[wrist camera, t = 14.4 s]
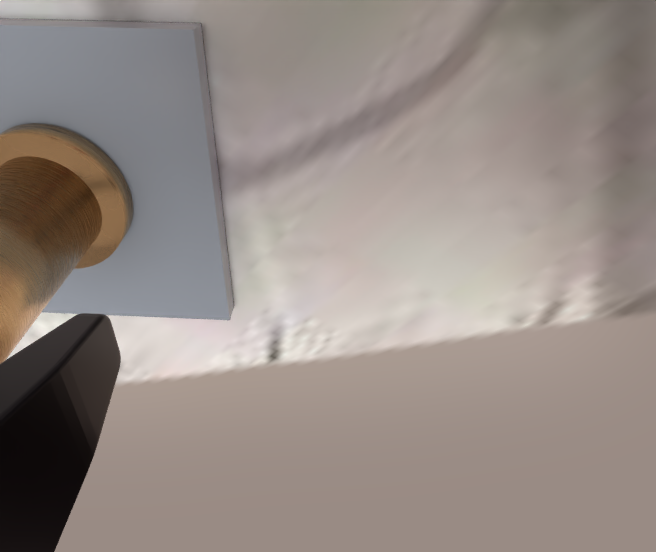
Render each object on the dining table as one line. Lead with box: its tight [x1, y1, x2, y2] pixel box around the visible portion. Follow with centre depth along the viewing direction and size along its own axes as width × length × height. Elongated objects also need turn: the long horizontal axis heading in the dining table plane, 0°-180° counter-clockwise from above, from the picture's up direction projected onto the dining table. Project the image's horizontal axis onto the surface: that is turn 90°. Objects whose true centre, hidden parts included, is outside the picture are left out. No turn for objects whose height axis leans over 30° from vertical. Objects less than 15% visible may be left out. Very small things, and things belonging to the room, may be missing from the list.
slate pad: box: [0, 18, 234, 320], centre depth 21 cm, size 12×12×1 cm
